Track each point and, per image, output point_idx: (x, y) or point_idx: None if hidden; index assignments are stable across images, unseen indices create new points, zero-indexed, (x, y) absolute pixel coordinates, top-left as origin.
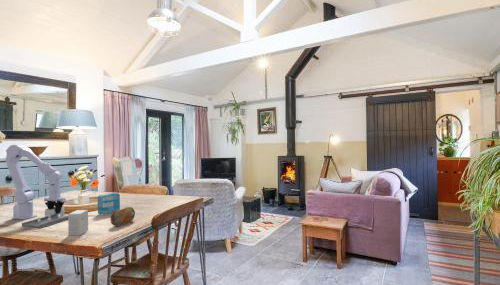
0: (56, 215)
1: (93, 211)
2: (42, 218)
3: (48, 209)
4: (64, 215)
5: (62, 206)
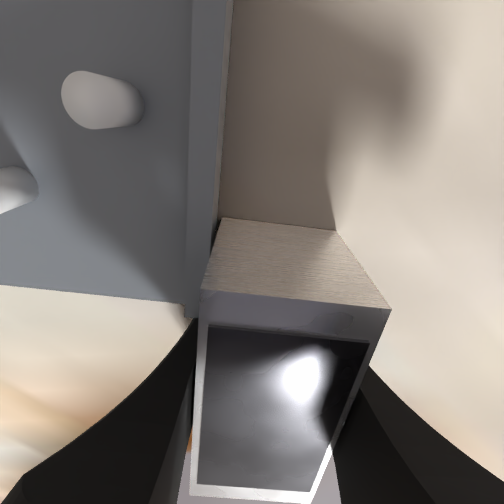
0: (179, 280)
1: (8, 466)
2: (196, 11)
3: (289, 309)
4: (55, 289)
5: (212, 487)
